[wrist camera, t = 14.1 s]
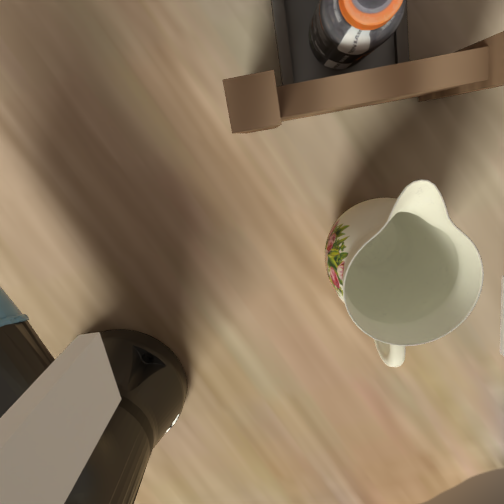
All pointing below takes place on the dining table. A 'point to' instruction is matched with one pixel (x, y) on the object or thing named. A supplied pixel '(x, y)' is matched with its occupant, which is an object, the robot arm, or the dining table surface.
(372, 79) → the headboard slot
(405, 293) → the pitcher
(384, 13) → the pill bottle
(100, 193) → the dining table surface
